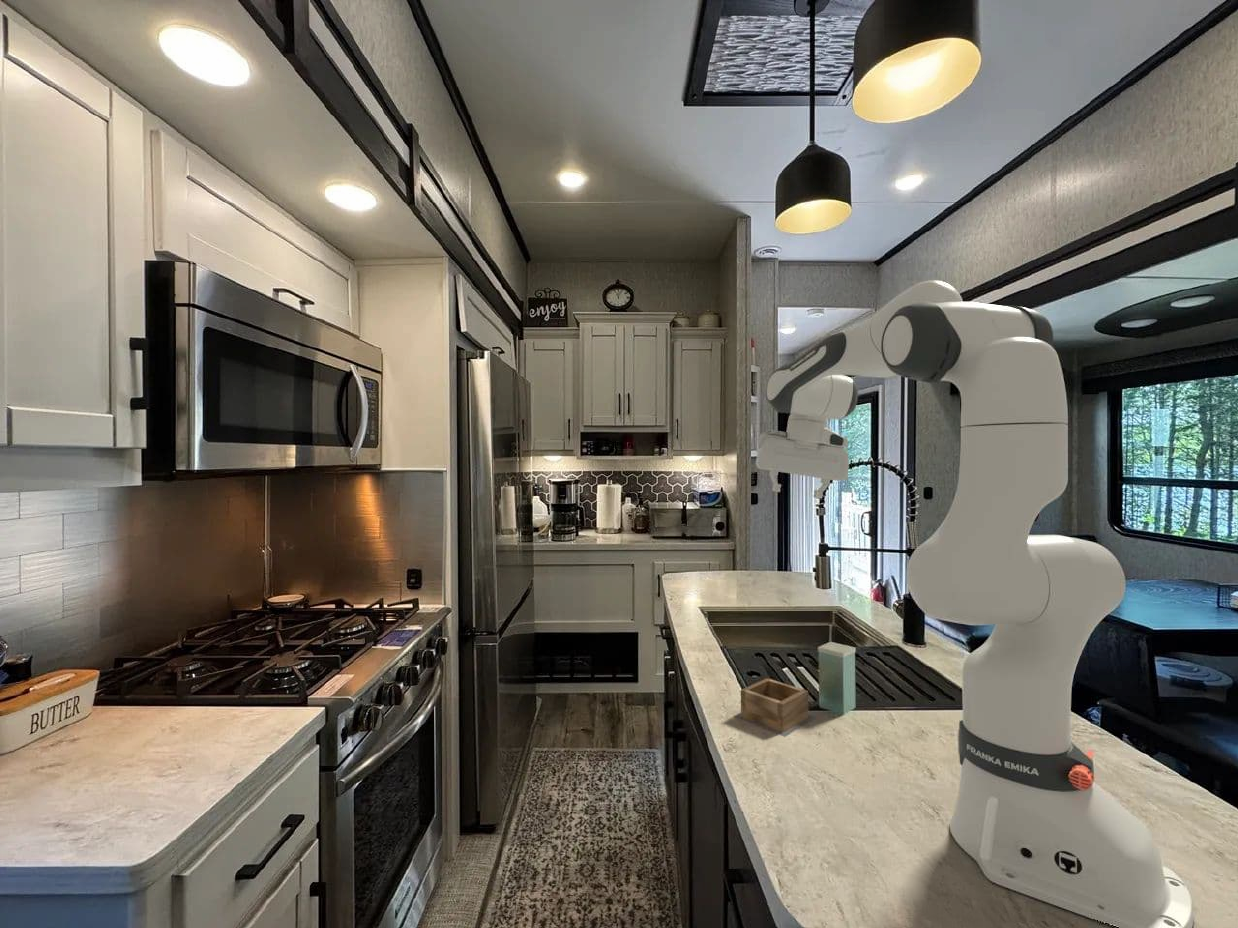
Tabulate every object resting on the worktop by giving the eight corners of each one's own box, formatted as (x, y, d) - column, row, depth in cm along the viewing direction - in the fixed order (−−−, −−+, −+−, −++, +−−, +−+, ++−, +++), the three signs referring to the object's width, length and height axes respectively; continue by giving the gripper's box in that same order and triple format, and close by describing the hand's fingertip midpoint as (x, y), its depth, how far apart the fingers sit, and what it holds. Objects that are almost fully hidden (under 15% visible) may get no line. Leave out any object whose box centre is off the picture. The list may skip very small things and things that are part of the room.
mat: (816, 719, 104) (816, 717, 104) (785, 738, 97) (785, 736, 97) (765, 701, 112) (765, 699, 112) (733, 718, 105) (733, 716, 105)
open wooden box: (808, 717, 104) (808, 690, 104) (783, 732, 98) (782, 704, 98) (767, 702, 111) (767, 677, 111) (740, 716, 105) (740, 689, 105)
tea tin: (856, 709, 109) (855, 647, 109) (844, 717, 105) (843, 653, 105) (831, 701, 112) (830, 641, 113) (818, 708, 109) (817, 647, 109)
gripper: (763, 427, 123) (753, 488, 123) (855, 441, 122) (846, 502, 122) (758, 429, 129) (748, 487, 129) (845, 442, 128) (836, 501, 128)
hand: (796, 494), depth 125 cm, fingers open, 8 cm apart
